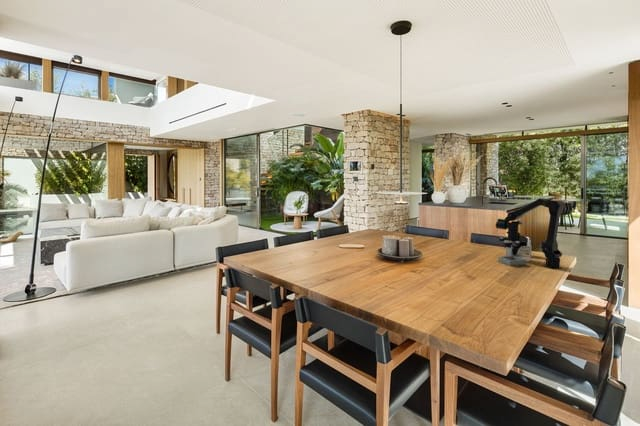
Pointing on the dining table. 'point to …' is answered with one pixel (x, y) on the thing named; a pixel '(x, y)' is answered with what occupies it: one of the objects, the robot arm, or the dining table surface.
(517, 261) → the tote
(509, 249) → the metal box
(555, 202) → the robot arm
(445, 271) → the dining table surface
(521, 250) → the container
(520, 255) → the pinkish brown block
